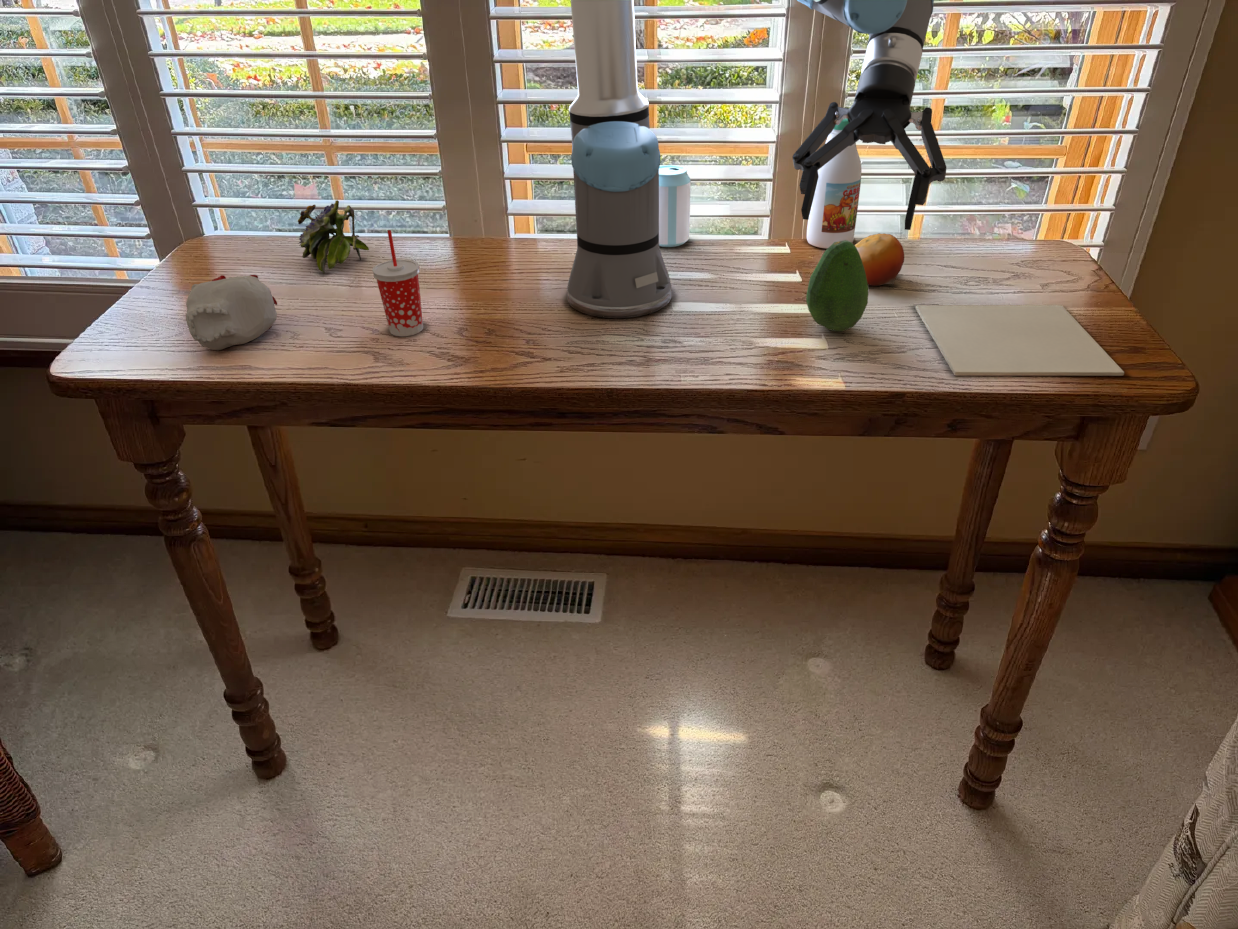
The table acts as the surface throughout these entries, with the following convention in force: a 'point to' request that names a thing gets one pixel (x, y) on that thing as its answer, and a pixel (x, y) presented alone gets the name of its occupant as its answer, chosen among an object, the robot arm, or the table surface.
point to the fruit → (881, 258)
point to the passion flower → (318, 236)
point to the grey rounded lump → (229, 311)
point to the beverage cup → (400, 293)
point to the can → (674, 205)
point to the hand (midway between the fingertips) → (855, 220)
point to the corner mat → (1015, 341)
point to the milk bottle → (836, 197)
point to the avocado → (838, 288)
